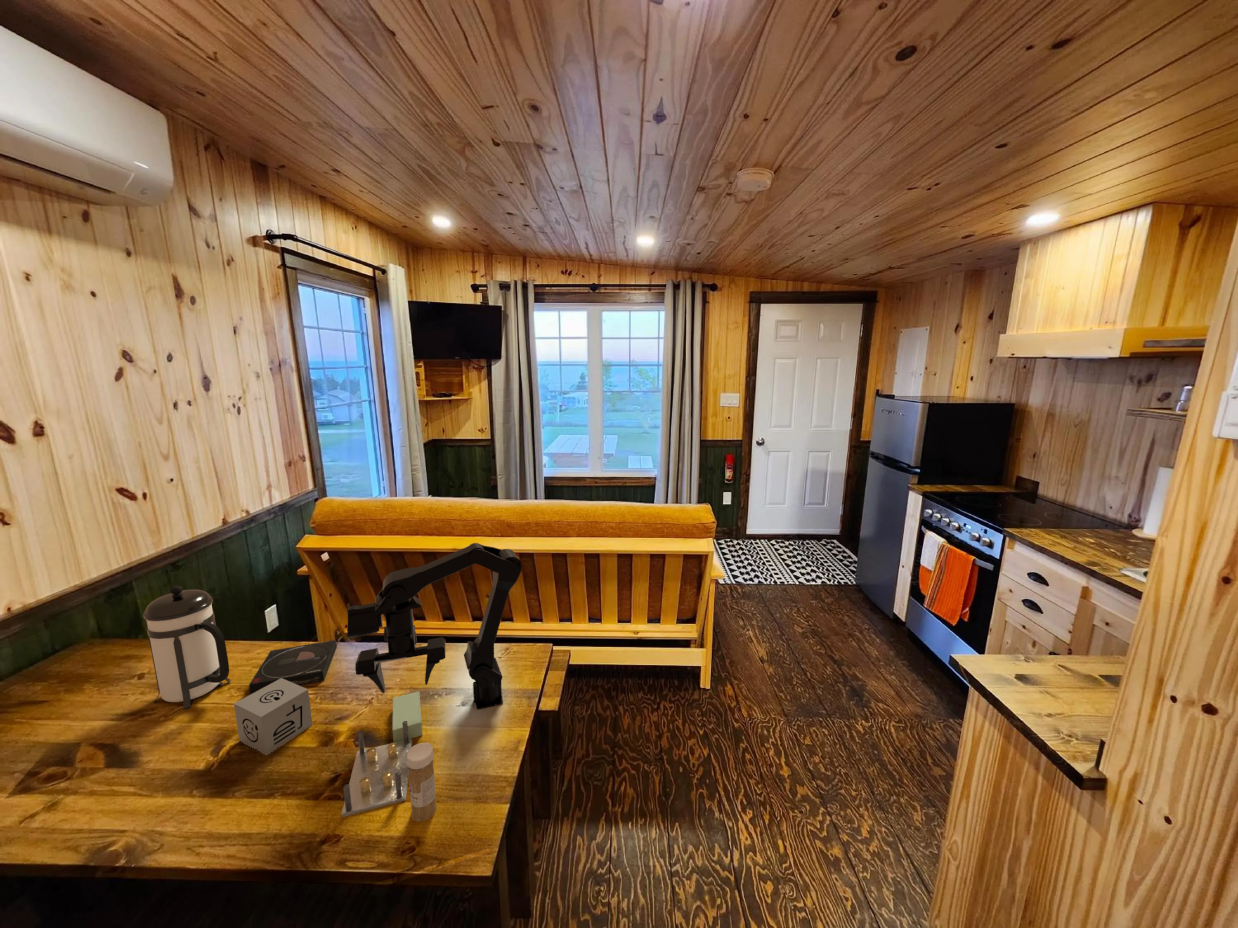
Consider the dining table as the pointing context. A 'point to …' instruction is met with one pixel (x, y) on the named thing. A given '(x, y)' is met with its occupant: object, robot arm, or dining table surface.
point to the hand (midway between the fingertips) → (405, 687)
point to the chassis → (378, 776)
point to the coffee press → (186, 645)
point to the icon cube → (273, 715)
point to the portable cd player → (295, 665)
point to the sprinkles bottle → (421, 781)
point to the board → (407, 716)
